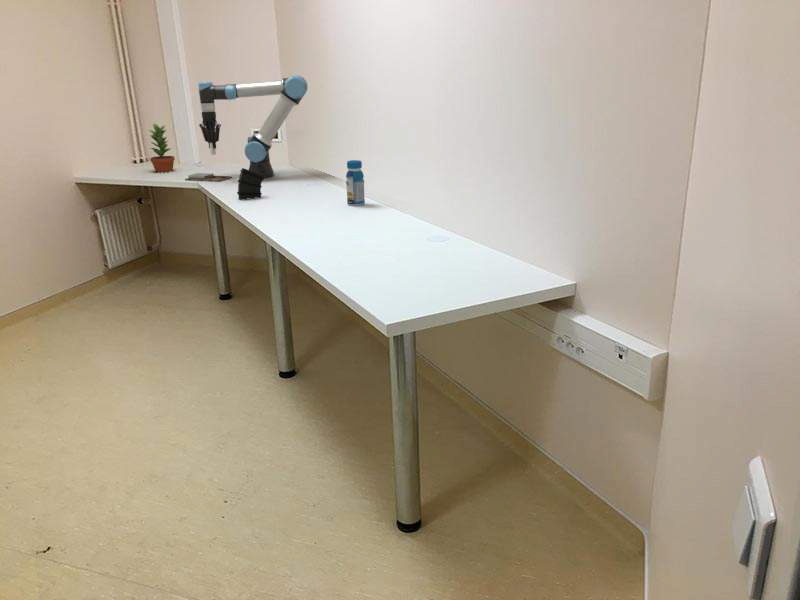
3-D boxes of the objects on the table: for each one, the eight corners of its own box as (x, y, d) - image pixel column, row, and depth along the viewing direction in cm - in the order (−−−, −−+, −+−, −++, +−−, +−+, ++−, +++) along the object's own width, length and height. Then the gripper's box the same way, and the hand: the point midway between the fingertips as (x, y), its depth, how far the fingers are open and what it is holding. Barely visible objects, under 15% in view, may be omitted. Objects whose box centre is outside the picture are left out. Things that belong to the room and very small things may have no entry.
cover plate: (214, 177, 363) (213, 173, 362) (204, 180, 355) (204, 176, 354) (198, 177, 366) (197, 172, 365) (188, 179, 358) (188, 175, 357)
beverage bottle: (362, 206, 286) (361, 162, 279) (345, 206, 288) (342, 162, 281) (366, 202, 294) (365, 159, 287) (349, 202, 296) (347, 159, 288)
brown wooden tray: (232, 179, 362) (232, 176, 361) (219, 183, 350) (219, 180, 349) (199, 178, 369) (198, 174, 368) (185, 182, 357) (184, 178, 356)
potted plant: (165, 174, 386) (157, 124, 376) (147, 172, 392) (139, 123, 382) (182, 170, 399) (175, 122, 388) (165, 169, 405) (157, 121, 394)
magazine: (231, 196, 306) (241, 167, 304) (255, 204, 314) (265, 176, 313) (234, 197, 303) (243, 168, 302) (258, 205, 311) (268, 177, 310)
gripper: (194, 111, 343) (199, 154, 351) (214, 111, 339) (219, 155, 347) (202, 110, 349) (207, 153, 358) (222, 110, 345) (227, 154, 354)
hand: (213, 154), depth 352 cm, fingers closed
